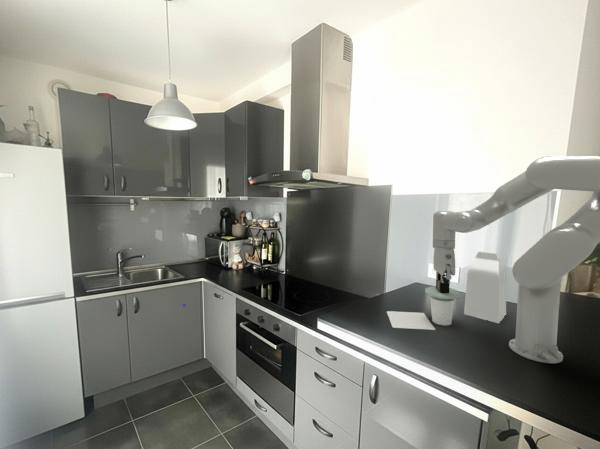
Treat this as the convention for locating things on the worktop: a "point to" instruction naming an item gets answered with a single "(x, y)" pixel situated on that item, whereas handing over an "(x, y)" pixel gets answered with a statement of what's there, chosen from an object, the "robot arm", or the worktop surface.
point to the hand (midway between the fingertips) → (442, 290)
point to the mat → (409, 320)
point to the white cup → (442, 310)
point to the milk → (486, 288)
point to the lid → (436, 293)
